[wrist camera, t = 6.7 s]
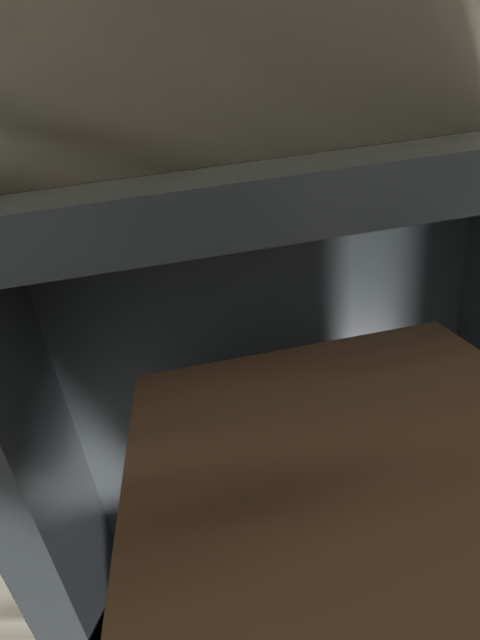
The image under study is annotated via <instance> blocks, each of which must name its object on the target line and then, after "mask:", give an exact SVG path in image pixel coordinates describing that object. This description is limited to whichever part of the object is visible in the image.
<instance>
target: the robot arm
mask: <svg viewBox="0 0 480 640" xmlns="http://www.w3.org/2000/svg"><path fill="white" fill-rule="evenodd" d="M104 611H105V608H104V610H103V612H102V613H101V615H100V617H99V619H98V621H97V623H96V625H95V627H94V629H93V631H92V633H91V635H90V637H89V639H88V640H101V633H102V626H103V618H104Z"/></svg>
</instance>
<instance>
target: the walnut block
mask: <svg viewBox="0 0 480 640" xmlns="http://www.w3.org/2000/svg"><path fill="white" fill-rule="evenodd" d="M101 640H480V350H479V349H477V348H476V347H474V346H473V345H471V344H470V343H468V342H467V341H465V340H464V339H462V338H461V337H459V336H458V335H456V334H455V333H453V332H452V331H450V330H449V329H447V328H446V327H444V326H443V325H441V324H440V323H438V322H437V321H435V322H430V323H424V324H419V325H413V326H408V327H403V328H397V329H392V330H386V331H381V332H376V333H370V334H365V335H359V336H354V337H348V338H343V339H338V340H332V341H327V342H321V343H316V344H311V345H305V346H300V347H294V348H289V349H283V350H278V351H273V352H267V353H262V354H256V355H251V356H245V357H240V358H235V359H229V360H224V361H218V362H213V363H208V364H202V365H197V366H191V367H186V368H180V369H175V370H170V371H164V372H159V373H153V374H148V375H143V376H137V377H136V380H135V387H134V395H133V402H132V410H131V417H130V424H129V432H128V439H127V447H126V454H125V462H124V469H123V477H122V484H121V492H120V499H119V506H118V514H117V521H116V529H115V536H114V544H113V551H112V559H111V566H110V574H109V581H108V588H107V596H106V603H105V611H104V618H103V626H102V633H101Z"/></svg>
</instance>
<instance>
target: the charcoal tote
mask: <svg viewBox="0 0 480 640" xmlns="http://www.w3.org/2000/svg"><path fill="white" fill-rule="evenodd" d="M435 321H437V322H438V323H440V324H441V325H443V326H444V327H446V328H447V329H449V330H450V331H452V332H453V333H455V334H456V335H458V336H459V337H461V338H462V339H464V340H465V341H467V342H468V343H470V344H471V345H473V346H474V347H476V348H477V349H479V350H480V131H476V132H468V133H461V134H453V135H446V136H438V137H431V138H424V139H416V140H409V141H401V142H394V143H386V144H379V145H371V146H364V147H357V148H349V149H342V150H334V151H327V152H319V153H312V154H304V155H297V156H289V157H282V158H275V159H267V160H260V161H252V162H245V163H237V164H230V165H222V166H215V167H207V168H200V169H193V170H185V171H178V172H170V173H163V174H155V175H148V176H140V177H133V178H125V179H118V180H111V181H103V182H96V183H88V184H81V185H73V186H66V187H58V188H51V189H44V190H36V191H29V192H21V193H14V194H6V195H0V574H1V576H2V578H3V580H4V581H5V583H6V585H7V587H8V589H9V591H10V593H11V594H12V596H13V598H14V600H15V602H16V604H17V606H18V607H19V609H20V611H21V613H22V615H23V617H24V619H25V620H26V622H27V624H28V626H29V628H30V630H31V632H32V633H33V635H34V637H35V639H36V640H88V639H89V637H90V635H91V633H92V631H93V629H94V627H95V625H96V623H97V621H98V619H99V617H100V615H101V613H102V612H103V610H104V608H105V603H106V596H107V588H108V581H109V574H110V566H111V559H112V551H113V544H114V536H115V529H116V521H117V514H118V506H119V499H120V492H121V484H122V477H123V469H124V462H125V454H126V447H127V439H128V432H129V424H130V417H131V410H132V402H133V395H134V387H135V380H136V377H137V376H143V375H148V374H153V373H159V372H164V371H170V370H175V369H180V368H186V367H191V366H197V365H202V364H208V363H213V362H218V361H224V360H229V359H235V358H240V357H245V356H251V355H256V354H262V353H267V352H273V351H278V350H283V349H289V348H294V347H300V346H305V345H311V344H316V343H321V342H327V341H332V340H338V339H343V338H348V337H354V336H359V335H365V334H370V333H376V332H381V331H386V330H392V329H397V328H403V327H408V326H413V325H419V324H424V323H430V322H435Z"/></svg>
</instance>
